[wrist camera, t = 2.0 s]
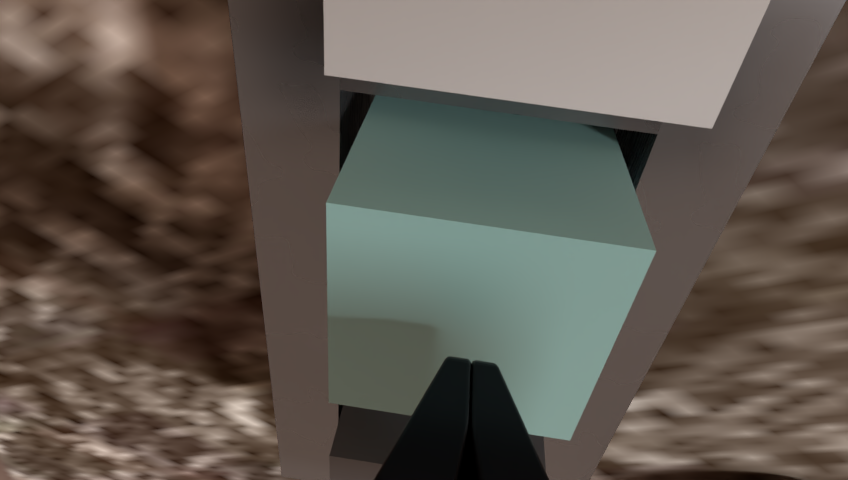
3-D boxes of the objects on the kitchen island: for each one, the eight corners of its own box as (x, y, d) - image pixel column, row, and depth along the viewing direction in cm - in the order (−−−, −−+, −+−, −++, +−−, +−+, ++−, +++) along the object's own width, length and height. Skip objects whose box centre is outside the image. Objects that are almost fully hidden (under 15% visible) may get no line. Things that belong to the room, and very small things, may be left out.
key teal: (611, 124, 12) (656, 250, 8) (554, 296, 15) (569, 440, 11) (377, 91, 12) (326, 202, 8) (368, 269, 15) (328, 402, 11)
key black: (537, 346, 16) (547, 490, 13) (505, 444, 19) (505, 581, 16) (366, 321, 16) (329, 455, 13) (361, 422, 19) (330, 552, 16)
